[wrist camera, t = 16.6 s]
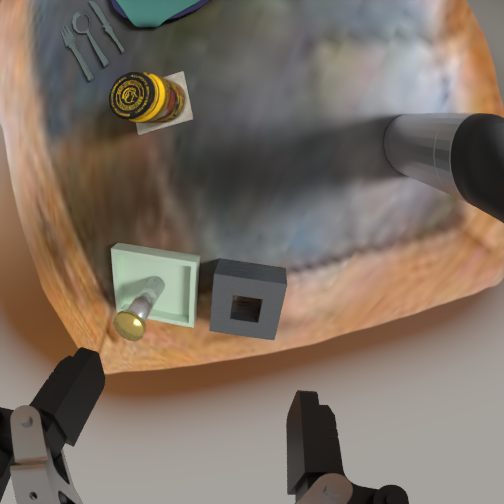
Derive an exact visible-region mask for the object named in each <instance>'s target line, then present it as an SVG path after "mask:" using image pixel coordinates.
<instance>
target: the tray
mask: <svg viewBox="0 0 504 504" xmlns="http://www.w3.org/2000/svg"><path fill="white" fill-rule="evenodd" d="M111 256H112V270H113V281H114V291H115V300H116V308H117V312H120V311H123V310H127V309H128V308H129V306H130V305H131V303H132V302H133V300H134V299H135V298H136V296H137V295H138V293H139V292H140V291H141V289H142V288H143V286H144V285H145V284H146V282H147V281H148V279H149V278H150V277H152V276H158V277H160V278H161V279H162V280H163V281H164V283H165V288H164V290H163V292H162V293H161V295H160V297H159V298H158V300H157V302H156V303H155V305H154V307H153V309H152V310H151V312H150V314H149V316H148V317H147V319H152V320H156V321H161V322H166V323H171V324H176V325H182V326H187V327H192V328H194V325H195V322H196V319H197V300H198V282H199V266H200V255H194V254H187V253H181V252H174V251H168V250H162V249H155V248H149V247H143V246H136V245H130V244H124V243H117V244H116V245H114V246H113V247H112V248H111Z"/></svg>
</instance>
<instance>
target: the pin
mask: <svg viewBox="0 0 504 504" xmlns="http://www.w3.org/2000/svg"><path fill="white" fill-rule="evenodd" d="M164 288H165V283H164V281H163V280H162V279H161V278H160V277H158V276H152V277H150V278H149V279H148V281H147V282H146V284H145V285H144V286H143V288H142V289H141V291H140V292H139V293H138V295H137V296H136V298H135V299H134V300H133V302H132V303H131V305H130V306H129V308H128V309H127V310H123V311H120V312H119V313H118V314H117V316H116V317H115V319H114V327H115V330H116V331H117V332H118V334H119V335H120V336H122V337H123V338H125V339H127V340H130V341H138V340H140V339H141V338H142V337H143V335H144V333H145V331H146V325H145V321H146V319H147V317H148V316H149V314H150V312H151V310H152V309H153V307H154V305H155V303H156V302H157V300H158V298H159V297H160V295H161V293H162V292H163V290H164Z"/></svg>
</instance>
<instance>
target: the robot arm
mask: <svg viewBox="0 0 504 504" xmlns="http://www.w3.org/2000/svg"><path fill="white" fill-rule="evenodd" d="M384 150H385V154H386V157H387V159H388V161H389V163H390V164H391V165H392V166H393V168H394V169H396V170H397V171H398V172H400V173H402V174H404V175H406V176H409V177H411V178H413V179H416V180H418V181H420V182H423V183H425V184H428V185H430V186H432V187H435V188H437V189H439V190H441V191H444V192H446V193H448V194H450V195H452V196H454V197H457V198H459V199H461V200H463V201H465V202H467V203H469V204H471V205H473V206H475V207H477V208H479V209H480V210H482V211H484V212H486V213H487V214H489V215H491V216H493V217H495V218H496V219H498V220H500V221H501V222H503V223H504V118H502V117H500V116H498V115H494V114H483V113H426V114H406V115H401V116H399V117H397V118H395V119H394V120H393V121H392V122H391V123H390V124H389V126H388V128H387V129H386V132H385V136H384ZM104 385H105V375H104V371H103V367H102V364H101V360H100V356H99V353H98V352H96V351H92V350H89V349H86V348H83V347H81V348H79V349H78V351H77V352H76V354H75V355H74V356H73V357H71V356H68V357H66V358H65V359H63V360H62V361H60V363H59V364H58V365H57V366H56V368H55V369H54V372H52V373H51V375H50V376H49V379H47V380H46V382H45V383H44V385H43V386H42V388H41V389H40V391H39V392H38V393H37V395H36V396H35V398H34V400H33V401H32V402H31V404H30V405H29V406H28V405H23V406H20V407H18V408H16V409H15V410H10V409H5V408H1V407H0V502H1V499H2V496H3V494H4V491H5V489H6V486H7V484H8V481H9V479H10V476H11V478H12V483H13V488H14V492H15V497H16V501H17V504H83V503H82V500H81V498H80V497H79V495H78V493H77V492H76V490H75V488H74V485H73V482H72V479H71V476H70V473H69V469H68V466H67V462H66V459H65V455H64V452H63V449H62V448H63V446H64V444H65V443H67V444H69V445H71V446H74V445H75V443H76V441H77V439H78V437H79V435H80V433H81V431H82V429H83V427H84V425H85V423H86V421H87V419H88V417H89V415H90V413H91V411H92V409H93V408H94V406H95V404H96V401H97V400H98V398H99V396H100V394H101V392H102V391H103V388H104ZM286 426H287V427H286V428H287V487H288V488H287V493H288V494H290V495H291V494H292V495H293V494H294V495H296V503H295V504H409V501H408V496H407V494H406V492H405V491H404V490H403V489H402V488H401V487H399V486H396V485H386V486H383V487H382V488H380V489H379V490H378V489H372V488H367V487H361V486H358V485H355V484H353V483H352V482H350V481H349V480H348V479H347V477H346V476H345V474H344V471H343V466H342V459H341V452H340V445H339V439H338V432H337V429H336V421H335V415H334V414H333V412H332V411H331V409H330V408H329V406H328V405H319V400H318V394H317V392H314V391H299V390H298V391H297V392H296V395H295V397H294V399H293V402H292V405H291V407H290V410H289V412H288V416H287V425H286Z"/></svg>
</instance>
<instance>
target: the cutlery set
mask: <svg viewBox="0 0 504 504" xmlns="http://www.w3.org/2000/svg"><path fill="white" fill-rule="evenodd" d="M209 1H210V0H111V3H112V5H113V8H114V9H115V10H116V11H117V12H118V13H119V14H120V15H122V16H123V17H124V18H127V19H129V20H130V21H131V22H132V23H133V24H134V25H135V26H137V27H158V26H159V25H161V24H162V23H163V22H164V21H167V20H171V19H175V18H179V17H182V16H184V15H186V14H188V13H190V12H192V11H194V10H197V9H199V8H201V7H202V6H203V5H205V4H206V3H207V2H209ZM89 3H90V4H91V6H92V7H93V9H94V11H95V12H96V14H97V15H98V17H99V18H100V20H101V21H102V23H103V24H104V25H103V26H102V27H104V28H105V31H106V32H108V33H109V34H110V35H111V37H112V38H113V39H114V41H115V42H116V43H117V45H118V47H119V48H120V50H121V53H125V52H126V50H124V48H123V47H122V46H121V44H120V43H119V42H118V40H117V38H116V36H115V35H114V33H113V29H112V27H110V26H109V24H110V23H109V22H107V21H106V18H105V16H104V14H103V12H102V11H101V9H100V8H99V6H98V5H97V4H96V3H95V2H93V1H89ZM80 15H86V16H87V17H88V18H89V16H88V15H87V14H86V13H85V12H84V11H78V12H77V13H76V14H74V15H73V20H72V24H73V28H74V30H75V31H77V32H78V33H87V35H88V37H89V39H90V41H91V43H92V45H93V47H94V49H95V51H96V52H97V54H98V56H99V58H100V60H101V62H102V63H103V65H104V66H105V67H106V66H107V65H108V64H110V63H109V62H108V60H107V58H106V57H105V56H104V54H103V53H102V51H101V50H100V48H99V47H98V45H97V44H96V42H95V40H94V39H93V37H92V36H91V34H90V32H89V28H88V29H87V30H86V31H81V32H80V31H79V30H78V29H77V28H76V19H77V18H78V17H79V16H80ZM89 22H90V18H89ZM90 23H91V22H90ZM90 23H89V27H90ZM65 27H66V29H67V31H66V30H65V29H64V27H63V30H64V33H65V34H64V33H63V32H62V30H60V32H61V34H62V36H63V39H64V42H65V45H66V47H69V48H71V49H72V51H73V52H74V54H75V56H76V57H77V59H78V61H79V63H80V65H81V66H82V69H83V71H84V73H85V74H86V76H87V78H88V80H89V81H92V80H93V79H94V77H93V76H92V74H91V72H90V71H89V69H88V67H87V65H86V63H85V61H84V60H83V58H82V56H81V54H80V53H79V51H78V50H77V48H76V47H75V45H76V44H75V43H74V42H75V40H76V38H75V37H74V36H73V34H72V33H71V31H70V30H69V28H68V27H67V25H65ZM67 32H68V33H67ZM65 35H66V36H65Z"/></svg>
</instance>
